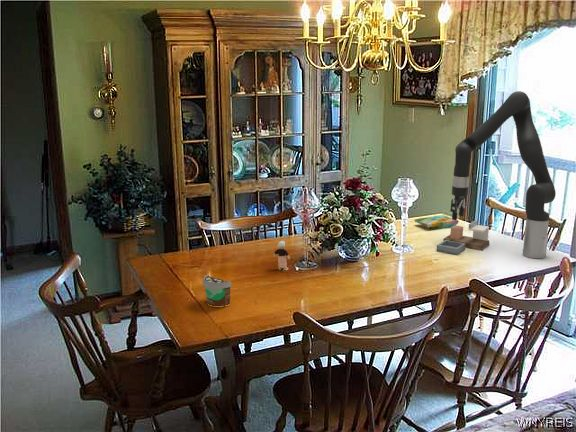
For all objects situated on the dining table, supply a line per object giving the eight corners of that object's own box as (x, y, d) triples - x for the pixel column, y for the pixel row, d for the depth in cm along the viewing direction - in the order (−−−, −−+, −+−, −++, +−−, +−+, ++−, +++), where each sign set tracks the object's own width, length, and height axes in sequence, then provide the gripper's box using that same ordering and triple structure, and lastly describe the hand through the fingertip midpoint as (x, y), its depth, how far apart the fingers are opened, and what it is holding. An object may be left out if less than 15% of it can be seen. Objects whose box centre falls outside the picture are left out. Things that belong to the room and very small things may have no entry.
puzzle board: (489, 245, 267) (489, 240, 266) (482, 250, 259) (482, 245, 259) (451, 238, 278) (451, 233, 277) (443, 243, 270) (443, 238, 270)
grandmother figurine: (291, 268, 239) (291, 240, 236) (289, 271, 236) (289, 243, 232) (274, 266, 241) (274, 239, 238) (272, 269, 238) (271, 241, 234)
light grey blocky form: (487, 240, 266) (489, 222, 263) (482, 244, 260) (483, 226, 257) (473, 237, 270) (474, 220, 267) (467, 241, 264) (468, 224, 261)
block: (462, 242, 272) (463, 226, 270) (458, 244, 268) (459, 228, 266) (453, 240, 275) (454, 225, 273) (449, 243, 271) (450, 227, 269)
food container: (196, 303, 204) (195, 278, 202) (208, 298, 209) (207, 273, 206) (220, 312, 197) (219, 286, 194) (232, 306, 202) (231, 280, 199)
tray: (465, 249, 261) (465, 243, 260) (457, 255, 253) (457, 249, 253) (444, 245, 267) (445, 239, 266) (436, 251, 259) (436, 245, 258)
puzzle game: (458, 218, 297) (427, 223, 290) (458, 227, 298) (427, 231, 291) (444, 213, 308) (414, 217, 300) (444, 221, 309) (414, 226, 301)
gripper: (458, 181, 272) (456, 213, 276) (446, 186, 261) (444, 219, 266) (473, 183, 268) (470, 215, 272) (462, 188, 257) (459, 222, 261)
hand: (457, 217), depth 269 cm, fingers open, 8 cm apart
